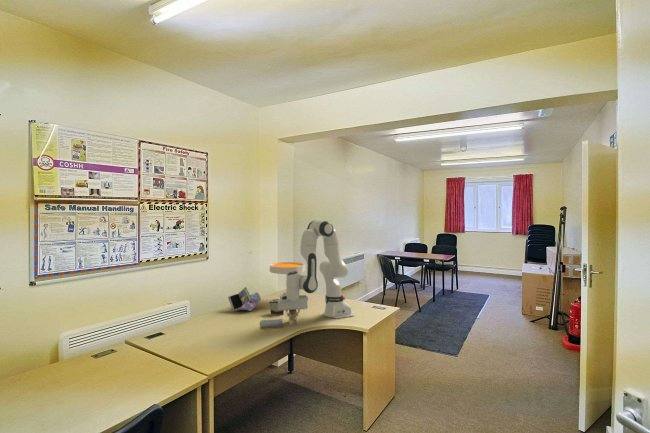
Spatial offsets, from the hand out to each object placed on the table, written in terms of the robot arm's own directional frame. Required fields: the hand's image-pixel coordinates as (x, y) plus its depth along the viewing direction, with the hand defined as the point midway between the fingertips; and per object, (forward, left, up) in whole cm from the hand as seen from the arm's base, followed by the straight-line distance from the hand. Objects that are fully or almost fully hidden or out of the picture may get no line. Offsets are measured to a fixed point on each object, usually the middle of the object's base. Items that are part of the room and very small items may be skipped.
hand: (292, 316), depth 225 cm
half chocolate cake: (+9, -23, -5) cm, 25 cm away
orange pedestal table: (0, -55, -5) cm, 55 cm away
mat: (+14, +1, -5) cm, 15 cm away
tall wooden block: (0, 0, -5) cm, 5 cm away
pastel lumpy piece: (+33, -37, -5) cm, 50 cm away
